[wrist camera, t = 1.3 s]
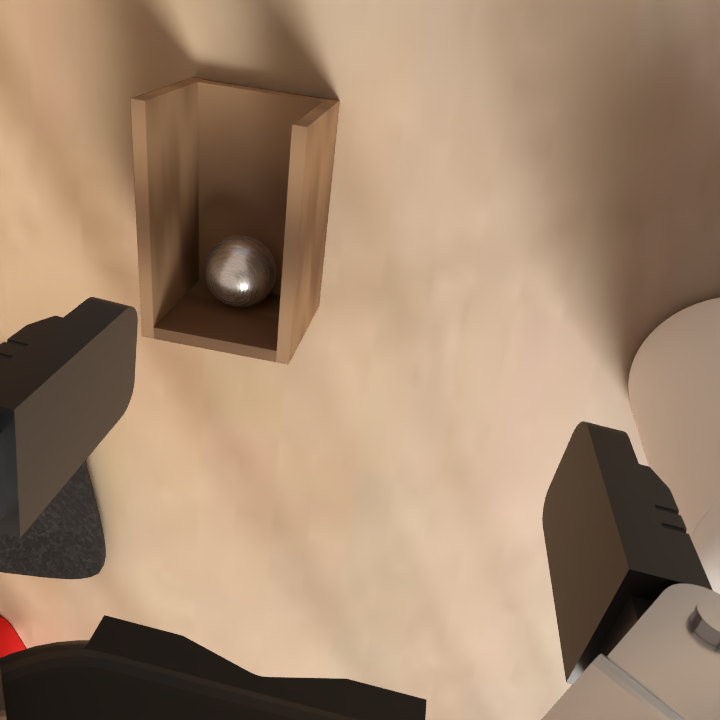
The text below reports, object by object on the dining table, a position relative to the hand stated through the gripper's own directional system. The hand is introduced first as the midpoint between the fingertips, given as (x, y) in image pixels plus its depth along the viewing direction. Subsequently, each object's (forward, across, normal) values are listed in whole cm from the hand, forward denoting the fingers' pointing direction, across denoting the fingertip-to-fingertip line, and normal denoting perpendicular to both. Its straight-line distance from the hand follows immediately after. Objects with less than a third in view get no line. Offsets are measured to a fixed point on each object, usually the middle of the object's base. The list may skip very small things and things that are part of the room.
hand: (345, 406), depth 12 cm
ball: (+16, +6, +5) cm, 18 cm away
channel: (+18, +6, +2) cm, 19 cm away
